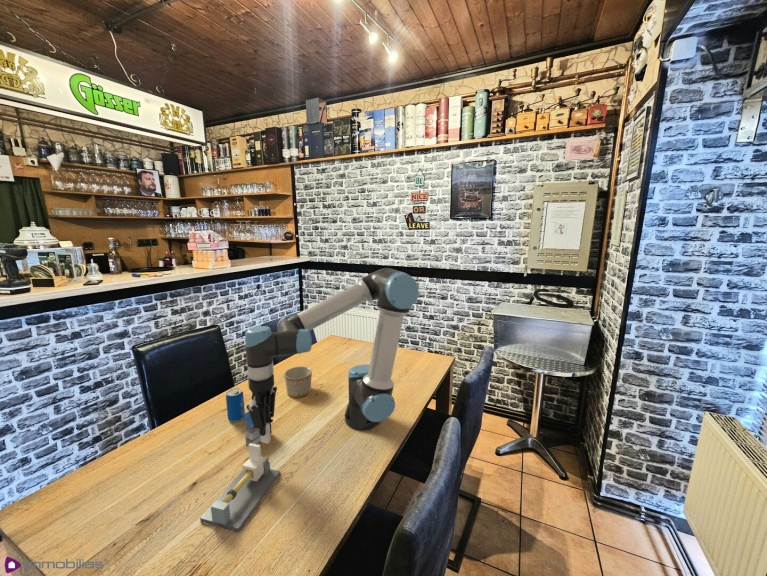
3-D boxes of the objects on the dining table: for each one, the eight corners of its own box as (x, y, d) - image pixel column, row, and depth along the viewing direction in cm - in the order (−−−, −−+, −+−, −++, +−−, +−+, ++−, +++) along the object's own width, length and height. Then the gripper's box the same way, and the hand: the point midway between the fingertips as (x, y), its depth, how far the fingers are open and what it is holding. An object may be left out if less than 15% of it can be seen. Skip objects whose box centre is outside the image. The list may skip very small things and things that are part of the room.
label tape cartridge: (252, 448, 113) (250, 417, 110) (245, 444, 115) (242, 414, 112) (272, 434, 121) (270, 405, 118) (265, 431, 122) (263, 402, 120)
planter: (279, 396, 147) (278, 375, 145) (296, 383, 159) (295, 364, 156) (301, 402, 142) (301, 381, 140) (317, 388, 154) (317, 369, 152)
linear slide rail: (280, 474, 101) (279, 457, 100) (238, 532, 82) (236, 512, 81) (248, 467, 104) (246, 451, 103) (200, 521, 85) (198, 502, 84)
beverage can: (238, 423, 127) (236, 397, 124) (224, 421, 128) (221, 395, 125) (248, 414, 133) (246, 388, 130) (234, 412, 134) (232, 387, 132)
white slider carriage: (263, 472, 99) (261, 445, 97) (256, 481, 95) (254, 453, 93) (251, 469, 100) (248, 442, 98) (243, 478, 96) (241, 450, 94)
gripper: (263, 365, 105) (267, 427, 110) (236, 383, 93) (242, 453, 97) (283, 367, 103) (286, 430, 108) (258, 387, 91) (263, 457, 96)
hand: (265, 441), depth 103 cm, fingers closed
